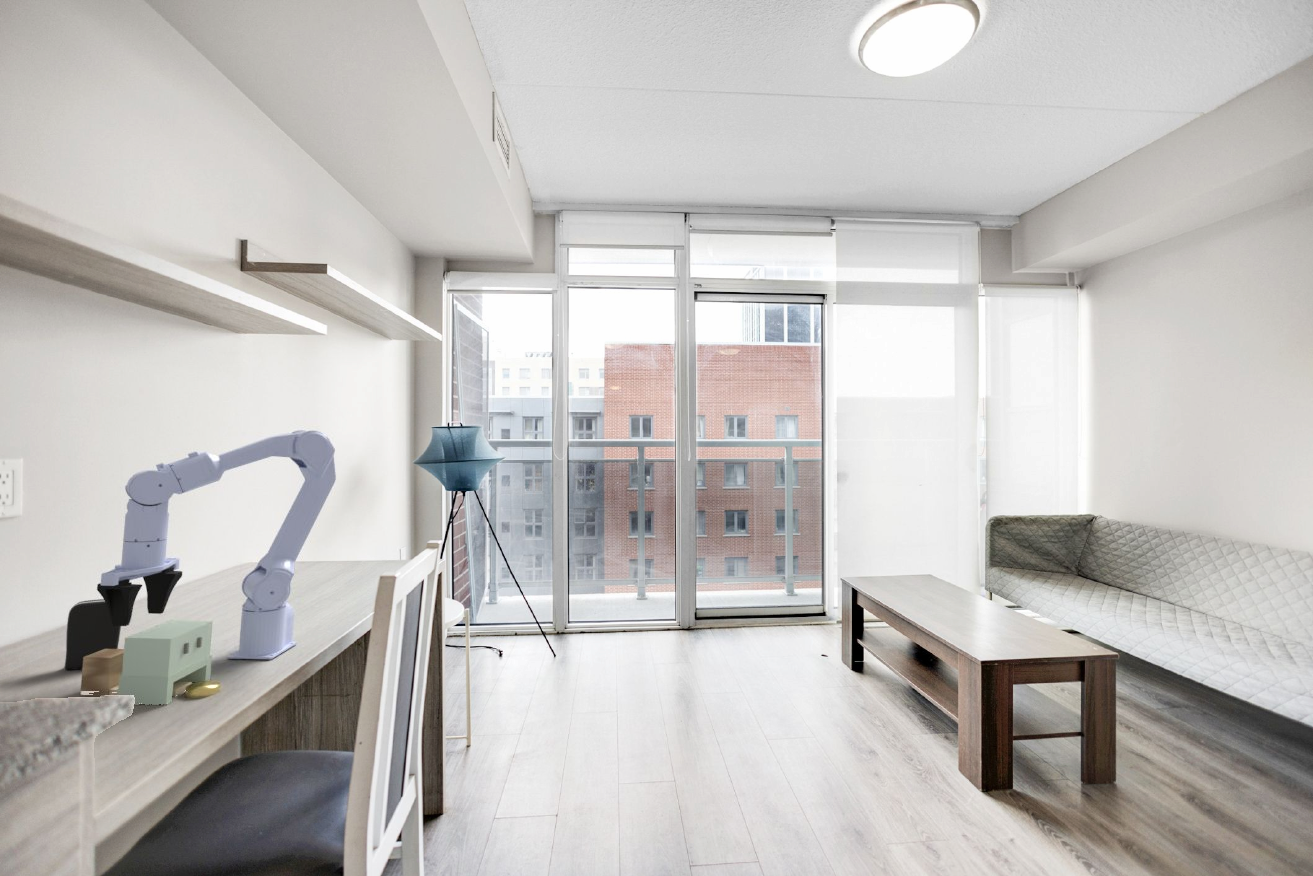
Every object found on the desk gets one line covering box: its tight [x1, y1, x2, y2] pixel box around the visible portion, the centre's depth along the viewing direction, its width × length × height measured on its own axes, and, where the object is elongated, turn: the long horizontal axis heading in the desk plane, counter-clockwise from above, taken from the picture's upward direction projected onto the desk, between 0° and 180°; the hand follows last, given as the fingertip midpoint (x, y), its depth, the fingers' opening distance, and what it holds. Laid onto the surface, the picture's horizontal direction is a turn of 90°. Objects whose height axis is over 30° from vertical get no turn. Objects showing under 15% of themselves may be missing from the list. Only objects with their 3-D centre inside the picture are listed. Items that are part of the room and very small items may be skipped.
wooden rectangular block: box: [79, 648, 193, 697], centre depth 94 cm, size 14×4×6 cm, turn 95°
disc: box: [184, 679, 221, 699], centre depth 95 cm, size 4×4×1 cm
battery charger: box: [63, 598, 122, 671], centre depth 104 cm, size 7×4×11 cm, turn 129°
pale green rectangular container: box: [118, 619, 213, 706], centre depth 94 cm, size 7×10×10 cm
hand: (138, 619), depth 101 cm, fingers open, 7 cm apart
